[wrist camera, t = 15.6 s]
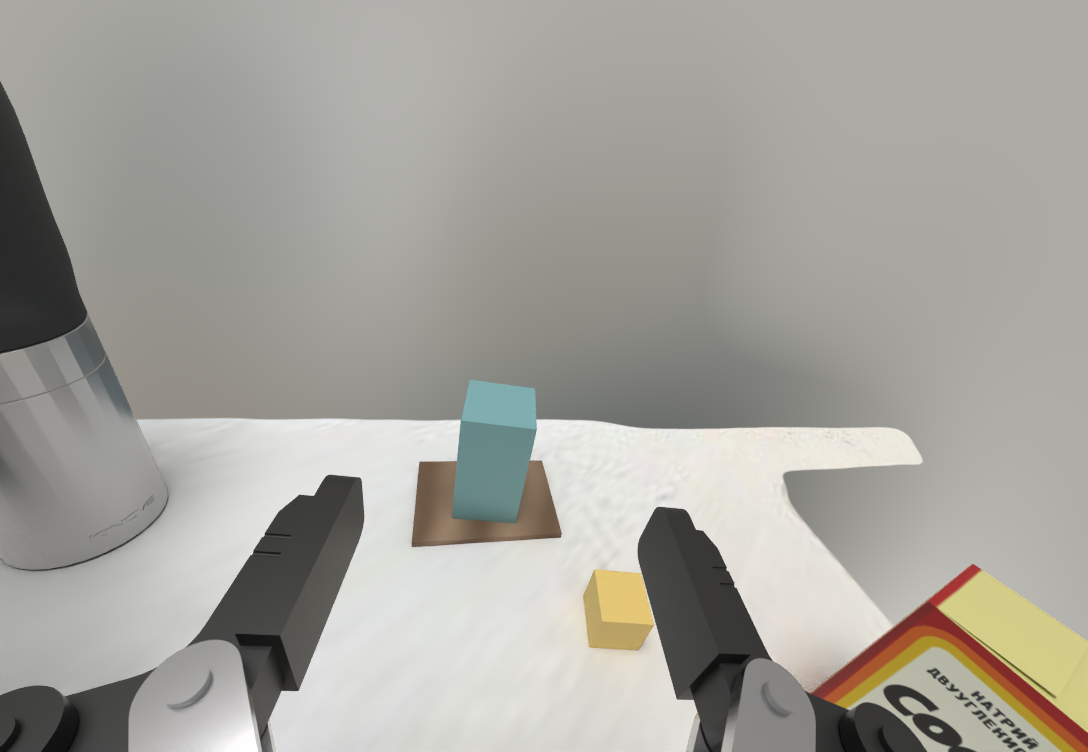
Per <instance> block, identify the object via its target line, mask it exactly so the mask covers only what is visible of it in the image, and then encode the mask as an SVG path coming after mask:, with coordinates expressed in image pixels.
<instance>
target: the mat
mask: <svg viewBox="0 0 1088 752" xmlns="http://www.w3.org/2000/svg"><path fill="white" fill-rule="evenodd" d="M456 467H457V461H449V462H420V463H419V473H418V484H417V495H416V505H415V516H414V526H413V537H412V547H416V546H431V545H447V544H462V543H477V542H493V541H508V540H523V539H539V538H554V537H561V529H560V526H559V522H558V518H557V515H556V511H555V507H554V504H553V500H552V496H551V493H550V489H549V485H548V482H547V478H546V474H545V471H544V467H543V463H542V461H529V466H528V470H527V475H526V479H525V483H524V488H523V492H522V497H521V501H520V506H519V510H518V514H517V519H516V523H503V522H491V521H479V520H467V519H455V518H452V509H453V499H454V488H455V478H456Z"/></svg>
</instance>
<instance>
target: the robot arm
mask: <svg viewBox="0 0 1088 752" xmlns="http://www.w3.org/2000/svg"><path fill="white" fill-rule="evenodd" d="M167 498H168V492H167V488H166V485H165V483H164V481H163V479H162V477H161V474H160V472H159V470H158V468H157V465H156V463H155V461H154V459H153V456H152V454H151V452H150V449H149V447H148V445H147V443H146V440H145V438H144V436H143V434H142V432H141V429H140V427H139V425H138V423H137V420H136V419H135V416H134V414H133V412H132V410H131V407H130V405H129V403H128V401H127V398H126V396H125V394H124V392H123V389H122V387H121V385H120V383H119V381H118V378H117V376H116V374H115V372H114V369H113V367H112V365H111V363H110V360H109V358H108V356H107V354H106V352H105V350H104V348H103V346H102V343H101V341H100V339H99V337H98V335H97V332H96V330H95V328H94V326H93V323H92V321H91V319H90V317H89V315H88V313H87V310H86V308H85V306H84V303H83V301H82V299H81V296H80V294H79V291H78V288H77V284H76V280H75V276H74V272H73V268H72V264H71V260H70V257H69V255H68V252H67V248H66V246H65V244H64V241H63V239H62V236H61V234H60V231H59V229H58V226H57V224H56V222H55V219H54V216H53V214H52V211H51V208H50V206H49V203H48V200H47V198H46V195H45V192H44V190H43V187H42V184H41V181H40V178H39V175H38V172H37V170H36V167H35V164H34V161H33V158H32V155H31V153H30V149H29V147H28V144H27V141H26V138H25V135H24V133H23V131H22V128H21V126H20V123H19V120H18V118H17V116H16V113H15V110H14V108H13V106H12V104H11V102H10V100H9V98H8V96H7V94H6V92H5V90H4V88H3V86H2V84H1V82H0V558H1V559H2V560H3V561H4V563H6V564H8V565H10V566H13V567H15V568H21V569H28V570H37V569H51V568H56V567H62V566H67V565H71V564H74V563H78V562H81V561H85V560H88V559H90V558H93V557H95V556H98V555H100V554H103V553H105V552H108V551H110V550H111V549H113V548H115V547H117V546H119V545H121V544H123V543H125V542H126V541H128V540H130V539H131V538H133V537H134V536H136V535H137V534H139V533H140V532H141V531H143V530H144V529H145V528H146V527H148V526H149V525H150V524H151V523H152V522H153V521H154V520H155V519H156V518H157V517H158V516H159V514H160V513H161V511H162V510H163V508H164V507H165V505H166V502H167ZM363 523H364V506H363V492H362V481H361V478H359V477H348V476H337V475H328V476H326V477H325V479H324V480H323V481H322V483H321V485H320V487H319V488H318V490H317V492H316V494H315V495H314V496H307V495H299V496H297V497H296V498H295V499H294V500H293V501H291V502H290V503H289V504H288V505H286V506H285V507H284V508H283V509H282V510H280V511H279V512H278V514H277V515H276V517H275V518H274V520H273V521H272V523H271V524H270V526H269V528H268V529H267V531H266V532H265V536H264V537H262V538H261V540H260V541H259V543H258V545H257V546H256V548H255V549H254V552H253V554H252V556H251V555H250V557H249V558H248V560H247V562H246V563H245V565H244V566H243V568H242V569H241V571H240V572H239V574H238V575H237V577H236V578H235V580H234V582H233V583H232V585H231V586H230V588H229V589H228V591H227V592H226V594H225V595H224V597H223V599H222V600H221V602H220V603H219V605H218V606H217V608H216V609H215V611H214V612H213V614H212V616H211V617H210V619H209V620H208V622H207V623H206V625H205V626H204V628H203V629H202V630H201V632H200V633H199V634H198V635H197V636H196V638H195V639H194V640H193V641H192V642H191V643H190V644H189V645H188V646H187V647H186V648H184V649H182V650H180V651H179V652H177V653H175V654H174V655H172V656H171V657H169V658H168V659H167V660H165V661H164V662H163V663H162V664H161V665H159V666H158V667H156V668H155V669H153V670H150V671H148V672H146V673H144V674H141V675H138V676H135V677H132V678H129V679H125V680H122V681H118V682H115V683H111V684H108V685H104V686H101V687H97V688H94V689H90V690H87V691H83V692H80V693H76V694H72V695H69V696H65V697H64V696H63V695H62V694H61V693H60V692H59V691H57V690H56V689H54V688H52V687H48V686H29V687H24V688H20V689H16V690H13V691H11V692H8V693H5V694H3V695H0V752H276V750H275V745H274V740H273V735H272V730H271V725H270V720H269V718H270V716H271V714H272V711H273V709H274V707H275V705H276V702H277V700H278V698H279V695H280V693H281V691H299V689H300V686H301V684H302V681H303V679H304V676H305V674H306V671H307V669H308V666H309V664H310V661H311V659H312V656H313V654H314V651H315V649H316V646H317V644H318V641H319V639H320V636H321V634H322V631H323V629H324V626H325V624H326V621H327V619H328V617H329V614H330V612H331V609H332V607H333V604H334V602H335V599H336V597H337V594H338V592H339V589H340V587H341V584H342V582H343V579H344V577H345V574H346V572H347V569H348V567H349V564H350V562H351V559H352V557H353V554H354V552H355V549H356V547H357V544H358V542H359V539H360V536H361V533H362V529H363ZM638 560H639V564H640V568H641V571H642V575H643V578H644V582H645V586H646V589H647V593H648V597H649V600H650V604H651V607H652V611H653V615H654V618H655V622H656V625H657V629H658V633H659V636H660V640H661V643H662V647H663V651H664V654H665V658H666V662H667V665H668V669H669V672H670V676H671V680H672V683H673V687H674V690H675V694H676V698H677V699H679V700H694V702H695V705H696V708H697V712H698V713H697V714H696V716H695V718H694V721H693V725H692V729H691V733H690V737H689V742H688V746H687V750H686V752H927V751H926V749H925V748H924V746H923V745H922V743H921V742H920V740H919V739H918V738H917V737H916V735H915V734H914V733H913V732H912V731H911V729H910V728H909V727H908V726H907V725H906V724H905V723H904V722H903V721H902V720H901V719H899V718H898V717H897V716H896V715H894V714H893V713H892V712H890V711H889V710H887V709H886V708H884V707H882V706H880V705H877V704H875V703H870V702H864V703H861V704H859V705H858V706H856V707H854V708H853V709H851V710H848V709H846V708H843V707H841V706H838V705H836V704H834V703H831V702H829V701H827V700H824V699H822V698H819V697H817V696H815V695H812V694H810V693H808V692H806V691H804V689H803V688H802V686H801V685H800V684H799V682H798V681H797V680H796V679H795V678H794V677H793V676H792V675H791V674H790V673H789V672H788V671H787V670H786V669H784V668H783V667H782V666H780V665H779V664H777V663H775V662H773V661H772V659H771V658H770V656H769V654H768V653H767V651H766V649H765V647H764V645H763V643H762V640H761V638H760V636H759V634H758V632H757V630H756V628H755V626H754V624H753V622H752V620H751V617H750V615H749V613H748V611H747V609H746V607H745V605H744V603H743V601H742V599H741V596H740V594H739V592H738V590H737V588H735V587H734V582H733V580H732V578H731V576H730V573H729V571H727V570H726V568H727V567H726V565H725V563H724V561H723V559H722V557H721V555H720V552H719V550H718V548H717V547H716V546H715V545H714V543H713V542H712V541H711V540H710V539H709V538H708V536H707V535H706V534H705V533H704V532H703V531H700V530H696V529H695V527H694V525H693V522H692V520H691V518H690V516H689V514H688V512H687V511H686V510H684V509H677V508H666V507H657V508H656V509H655V510H654V512H653V514H652V516H651V518H650V520H649V522H648V524H647V525H646V527H645V529H644V531H643V533H642V535H641V537H640V539H639V543H638Z"/></svg>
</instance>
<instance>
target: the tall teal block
mask: <svg viewBox="0 0 1088 752" xmlns="http://www.w3.org/2000/svg"><path fill="white" fill-rule="evenodd" d="M536 430H537V425H536V403H535V389H534V388H527V387H519V386H513V385H505V384H497V383H489V382H482V381H475V380H470V383H469V387H468V392H467V396H466V401H465V405H464V409H463V414H462V418H461V425H460V436H459V446H458V457H457V467H456V478H455V488H454V499H453V509H452V518H455V519H467V520H479V521H491V522H503V523H516V519H517V514H518V510H519V506H520V501H521V497H522V492H523V488H524V483H525V479H526V475H527V470H528V466H529V461H530V457H531V452H532V448H533V444H534V439H535V435H536Z"/></svg>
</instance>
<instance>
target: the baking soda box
mask: <svg viewBox="0 0 1088 752" xmlns="http://www.w3.org/2000/svg"><path fill="white" fill-rule="evenodd" d="M810 694H812V695H815V696H817V697H819V698H822V699H824V700H827V701H829V702H831V703H834V704H836V705H838V706H841V707H843V708H846V709H848V710H851V709H853V708H854V707H856V706H858V705H859V704H861V703H864V702H870V703H875V704H877V705H880V706H882V707H884V708H886V709H887V710H889V711H890V712H892V713H893V714H894V715H896V716H897V717H898V718H899V719H901V720H902V721H903V722H904V723H905V724H906V725H907V726H908V727H909V728H910V729H911V731H912V732H913V733H914V734H915V735H916V737H917V738H918V739H919V740H920V742H921V743H922V745H923V746H924V748H925V749H926V751H927V752H1088V641H1087V640H1085V639H1084V638H1082V637H1081V636H1079V635H1078V634H1076V633H1075V632H1073V631H1072V630H1070V629H1069V628H1067V627H1066V626H1064V625H1063V624H1061V623H1060V622H1058V621H1057V620H1055V619H1054V618H1053V617H1051V616H1050V615H1048V614H1047V613H1045V612H1044V611H1042V610H1040V609H1039V608H1038V607H1036V606H1034V605H1033V604H1032V603H1030V602H1029V601H1027V600H1026V599H1024V598H1023V597H1021V596H1020V595H1018V594H1017V593H1015V592H1014V591H1012V590H1011V589H1010V588H1008V587H1007V586H1005V585H1003V584H1002V583H1001V582H999V581H997V580H996V579H995V578H993V577H992V576H990V575H989V574H987V573H986V572H984V571H983V570H981V569H980V568H978V567H977V566H975V565H974V564H972V565H971V566H969V567H968V568H967V569H966V570H964V571H963V572H962V573H961V574H959V575H958V576H957V577H956V578H954V579H953V580H952V581H950V582H949V583H948V584H947V585H945V586H944V587H943V588H942V589H940V590H939V591H938V592H937V593H935V594H934V595H933V596H932V597H930V598H929V599H928V600H927V601H925V602H924V603H923V604H921V605H920V606H919V607H918V608H916V610H914V611H913V612H912V613H910V614H909V615H908V616H907V617H905V618H904V619H903V620H901V621H900V622H899V623H898V624H896V625H895V626H894V627H893V628H891V629H890V630H889V631H887V632H886V633H885V634H884V635H882V636H881V637H880V638H879V639H877V640H876V641H875V642H874V643H872V644H871V645H870V646H869V647H867V648H866V649H865V650H864V651H862V652H861V653H860V654H859V655H857V656H856V657H855V658H853V659H852V660H851V661H850V662H848V663H847V664H846V665H845V666H843V667H842V668H841V669H840V670H838V671H837V672H836V673H835V674H833V675H832V676H831V677H830V678H828V679H827V680H826V681H825V682H823V683H822V684H821V685H820V686H819V687H817V688H816V689H815V690H814V691H813V692H811V693H810Z"/></svg>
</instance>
